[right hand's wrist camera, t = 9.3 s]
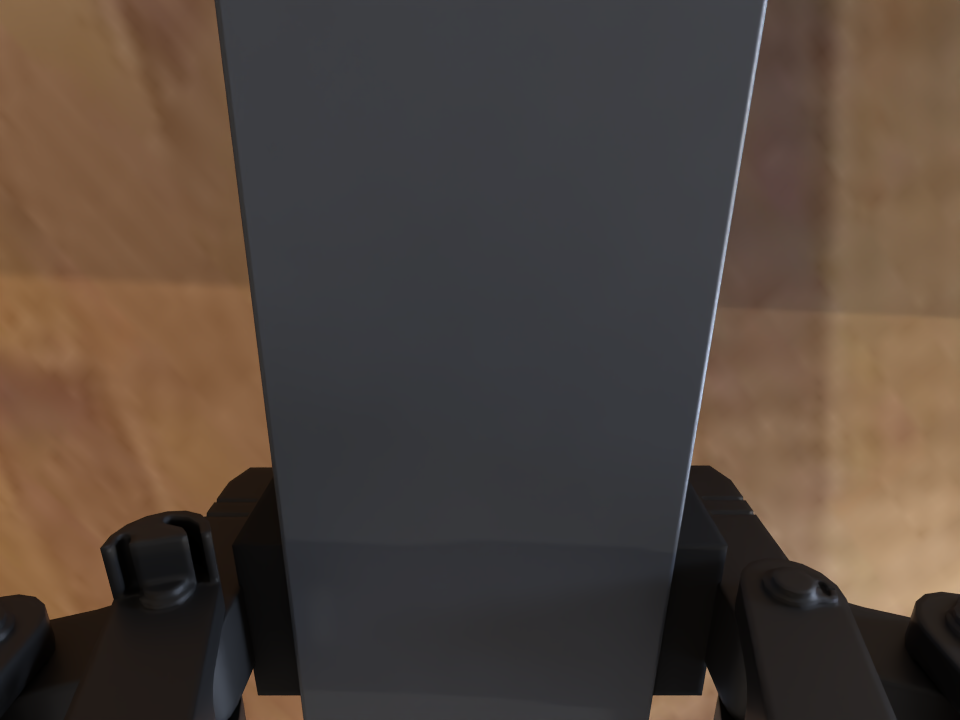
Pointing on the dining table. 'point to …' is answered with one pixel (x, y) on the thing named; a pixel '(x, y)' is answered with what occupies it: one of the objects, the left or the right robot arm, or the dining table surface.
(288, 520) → the beam
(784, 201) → the dining table surface
